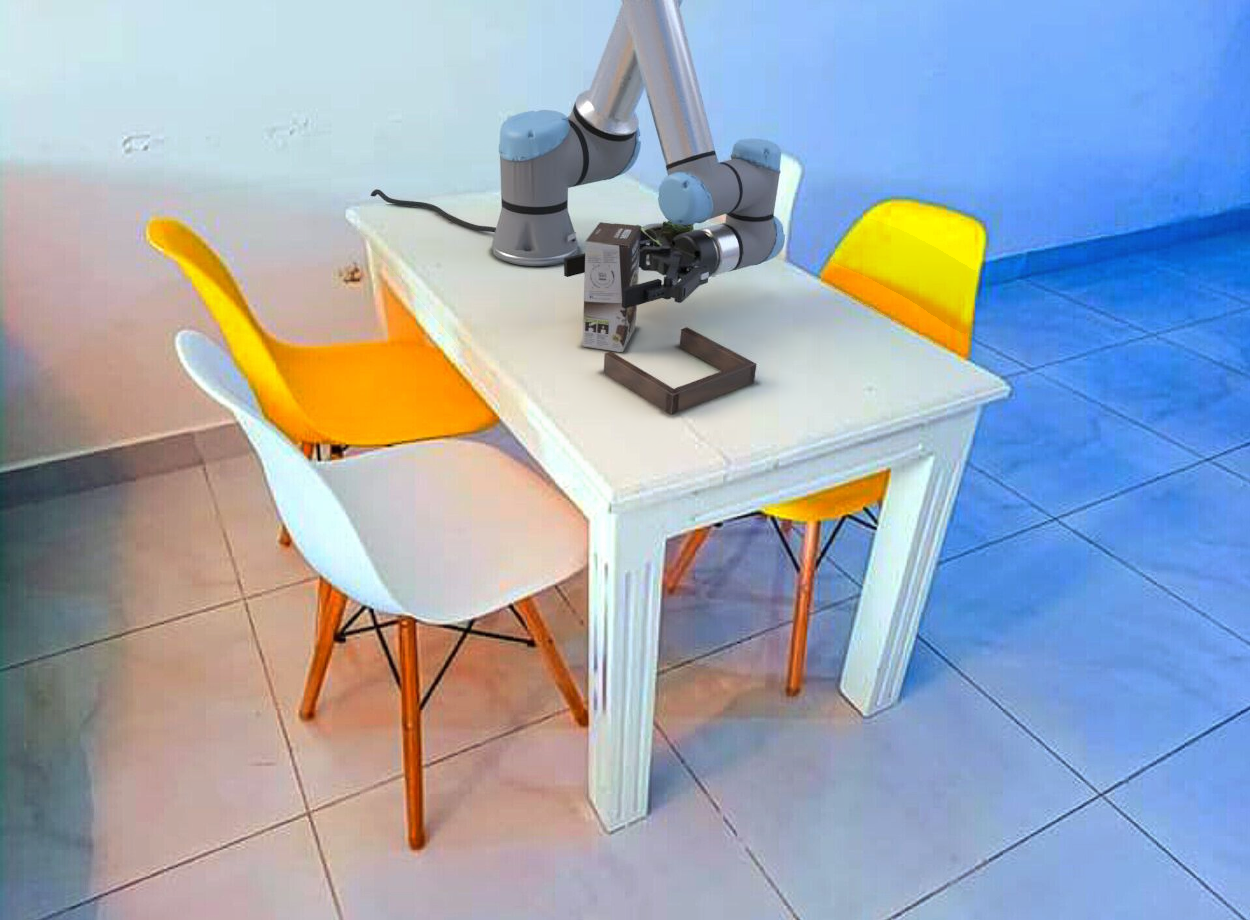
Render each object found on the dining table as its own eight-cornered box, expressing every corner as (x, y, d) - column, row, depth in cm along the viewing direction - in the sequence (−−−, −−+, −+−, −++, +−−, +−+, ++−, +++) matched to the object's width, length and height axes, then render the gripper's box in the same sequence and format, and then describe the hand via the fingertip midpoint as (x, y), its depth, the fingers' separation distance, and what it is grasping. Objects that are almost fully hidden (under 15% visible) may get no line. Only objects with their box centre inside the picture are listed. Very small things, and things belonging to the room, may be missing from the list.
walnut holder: (603, 372, 127) (604, 353, 125) (685, 345, 136) (686, 326, 134) (671, 415, 118) (672, 394, 116) (754, 382, 127) (756, 363, 125)
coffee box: (624, 353, 132) (629, 245, 124) (581, 347, 133) (583, 240, 125) (637, 327, 140) (643, 224, 131) (596, 322, 141) (599, 219, 132)
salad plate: (654, 222, 182) (655, 199, 179) (737, 240, 175) (739, 216, 173) (606, 250, 167) (607, 225, 165) (694, 271, 161) (697, 246, 158)
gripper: (757, 303, 136) (648, 338, 124) (649, 252, 152) (543, 279, 140) (764, 255, 132) (652, 286, 120) (651, 208, 147) (543, 231, 136)
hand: (593, 282), depth 130 cm, fingers open, 13 cm apart
